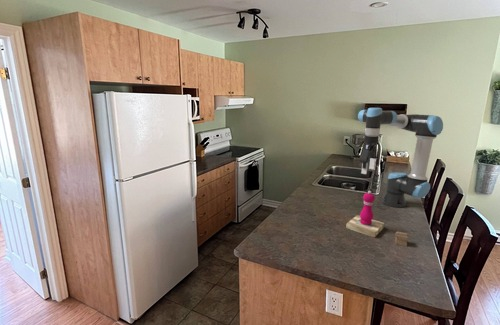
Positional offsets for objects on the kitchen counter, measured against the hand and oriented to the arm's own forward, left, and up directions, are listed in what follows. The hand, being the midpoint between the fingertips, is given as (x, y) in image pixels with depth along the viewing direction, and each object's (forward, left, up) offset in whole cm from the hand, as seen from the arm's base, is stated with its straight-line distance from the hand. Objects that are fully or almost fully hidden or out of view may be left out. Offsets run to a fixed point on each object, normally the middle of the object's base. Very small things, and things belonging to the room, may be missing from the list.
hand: (367, 171), depth 158 cm
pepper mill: (+6, +4, -30) cm, 31 cm away
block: (+10, +24, -33) cm, 42 cm away
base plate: (+6, +4, -33) cm, 33 cm away
